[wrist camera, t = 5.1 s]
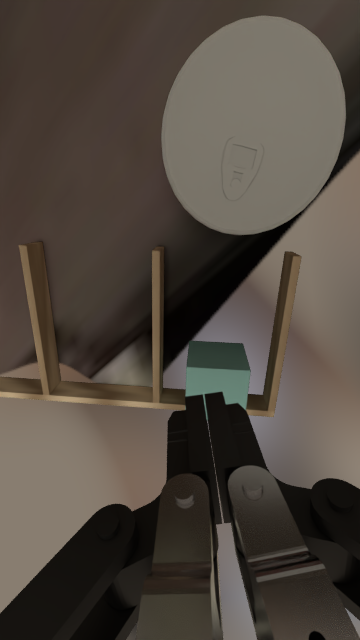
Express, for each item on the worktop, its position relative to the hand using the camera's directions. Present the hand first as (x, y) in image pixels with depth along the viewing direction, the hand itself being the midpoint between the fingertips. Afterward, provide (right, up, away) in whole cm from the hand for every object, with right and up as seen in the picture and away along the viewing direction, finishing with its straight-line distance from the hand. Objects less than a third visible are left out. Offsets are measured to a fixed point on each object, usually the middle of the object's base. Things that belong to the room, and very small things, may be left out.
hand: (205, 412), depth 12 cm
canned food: (+3, +15, +11) cm, 19 cm away
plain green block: (+2, -1, +17) cm, 17 cm away
